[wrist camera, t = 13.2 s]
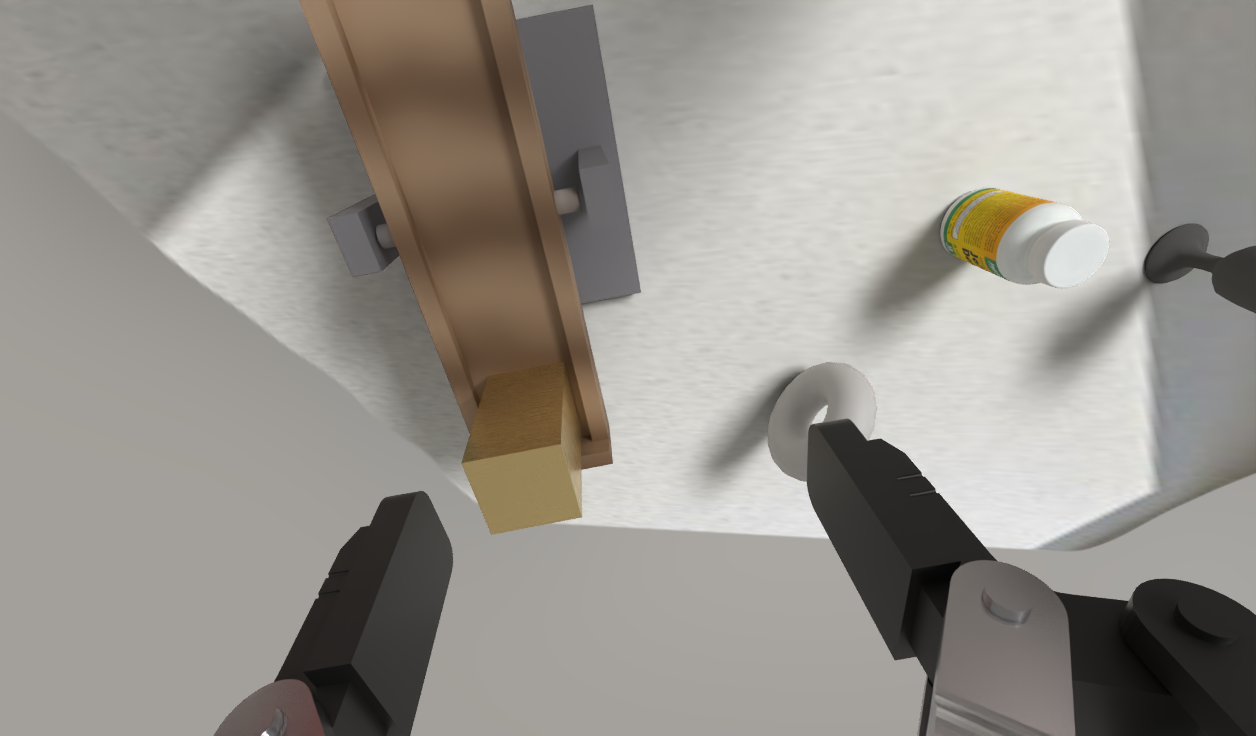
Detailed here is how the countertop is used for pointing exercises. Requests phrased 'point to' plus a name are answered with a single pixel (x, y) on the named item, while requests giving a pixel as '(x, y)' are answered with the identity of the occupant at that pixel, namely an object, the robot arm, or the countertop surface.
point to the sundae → (1204, 264)
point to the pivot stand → (550, 160)
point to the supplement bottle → (1023, 238)
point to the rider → (526, 449)
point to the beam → (465, 188)
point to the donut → (806, 399)
